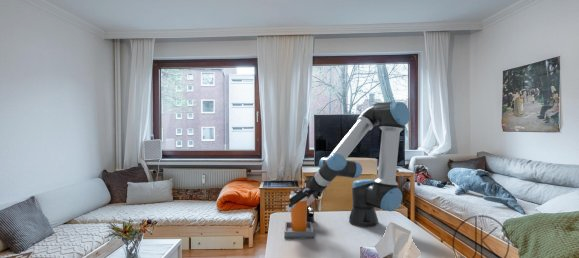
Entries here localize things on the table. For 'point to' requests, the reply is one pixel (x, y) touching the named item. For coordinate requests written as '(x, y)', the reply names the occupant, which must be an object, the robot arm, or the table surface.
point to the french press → (309, 215)
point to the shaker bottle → (299, 213)
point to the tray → (298, 234)
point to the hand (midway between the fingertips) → (297, 206)
